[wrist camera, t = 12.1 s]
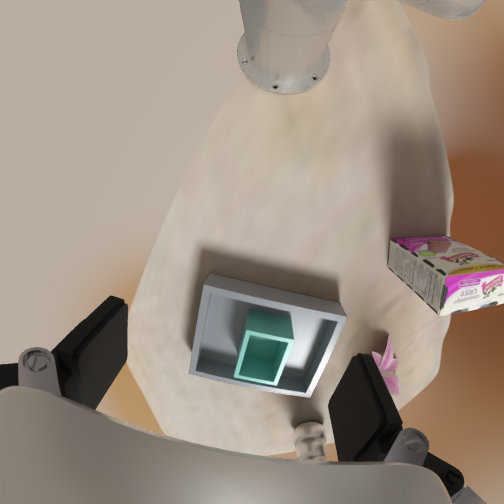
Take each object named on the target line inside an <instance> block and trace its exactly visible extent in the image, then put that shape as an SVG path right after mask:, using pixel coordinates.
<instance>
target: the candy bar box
mask: <svg viewBox="0 0 504 504" xmlns="http://www.w3.org/2000/svg"><path fill="white" fill-rule="evenodd" d="M388 268H389V269H390V270H391V271H392V272H393V273H394V274H395V275H396V276H398V277H399V278H400V279H401V280H402V281H403V282H404V283H405V284H406V285H407V286H409V287H410V288H411V289H412V290H413V291H414V292H415V293H416V294H417V295H418V296H419V297H420V298H421V299H422V300H423V301H425V303H426V304H427V305H429V306H430V307H431V308H432V309H433V310H434V311H435V312H436V313H437V314H438V316H444V315H449V314H454V313H460V312H465V311H470V310H475V309H480V308H484V307H489V306H494V305H498V304H502V303H504V263H502V262H500V261H498V260H496V259H494V258H492V257H490V256H488V255H486V254H484V253H482V252H480V251H478V250H475V249H473V248H471V247H469V246H467V245H465V244H463V243H461V242H458V241H456V240H454V239H452V238H450V237H448V236H434V237H415V238H393V239H390V244H389V260H388Z"/></svg>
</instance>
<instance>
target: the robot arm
mask: <svg viewBox="0 0 504 504" xmlns="http://www.w3.org/2000/svg"><path fill="white" fill-rule="evenodd" d="M397 1H400V2H403V3H405V4H407V5H409V6H412V7H414V8H417V9H419V10H421V11H424V12H426V13H429V14H431V15H434V16H437V17H440V18H444V19H449V20H459V19H463V18H466V17H469V16H470V15H472V14H474V13H475V12H476V11H477V10H478V9H479V8H480V7H481V6H482V5H483V4H484V2H485V1H486V0H397ZM239 2H240V8H241V13H242V19H243V24H244V29H245V33H244V34H243V36H242V37H241V39H240V42H239V44H238V50H237V53H238V61H239V64H240V67H241V69H242V71H243V73H244V74H245V75H246V77H247V78H248V79H249V80H250V81H251V82H252V83H254V84H255V85H257V86H258V87H260V88H262V89H264V90H266V91H269V92H273V93H278V94H295V93H300V92H304V91H306V90H308V89H311V88H312V87H314V86H315V85H317V84H318V83H319V82H320V81H321V80H322V79H323V77H324V76H325V74H326V72H327V70H328V68H329V64H330V51H329V47H328V45H327V44H328V42H329V41H330V39H331V37H332V35H333V33H334V31H335V29H336V27H337V25H338V23H339V21H340V19H341V17H342V15H343V13H344V10H345V8H346V5H347V0H239ZM244 62H246V63H247V64H243V63H244ZM313 78H315V79H316V80H313ZM274 86H276V87H277V89H274V88H273V87H274ZM127 327H128V305H127V304H125V302H124V300H123V299H120V298H118V297H114V296H109V297H108V298H107V299H106V300H105V301H104V302H103V303H102V304H101V305H100V306H99V307H97V308H96V309H95V310H94V311H93V312H92V313H91V314H90V315H89V316H88V317H87V318H86V319H84V320H83V321H82V322H80V323H79V324H78V325H77V326H76V327H75V328H74V329H73V330H72V331H71V332H70V333H69V334H68V335H67V336H66V337H65V338H64V339H63V340H62V341H61V342H60V343H59V344H58V345H57V346H56V347H55V348H54V349H53V350H52V351H51V352H50V351H48V350H47V349H44V348H40V347H34V348H29V349H27V350H25V351H24V352H22V354H21V355H20V357H19V361H18V363H13V364H1V365H0V504H487V503H486V502H484V500H483V499H481V498H480V497H479V496H478V495H477V494H476V493H475V492H474V491H473V490H472V489H471V488H470V487H468V486H466V487H464V477H463V475H462V473H461V472H460V471H459V470H458V469H456V468H455V467H454V466H452V465H450V464H448V463H446V462H445V461H443V460H441V459H439V458H438V457H436V456H434V455H433V454H431V453H429V452H428V450H429V441H428V439H427V437H426V436H425V435H424V434H423V433H422V432H420V431H419V430H417V429H414V428H406V429H403V428H402V423H403V422H402V420H401V418H400V415H399V413H398V411H397V408H396V406H395V404H394V402H393V399H392V397H391V395H390V393H389V390H388V388H387V386H386V384H385V382H384V379H383V377H382V375H381V373H380V371H379V369H378V367H377V364H376V362H375V360H374V358H373V356H372V355H369V354H361V353H359V354H357V356H353V357H352V359H351V361H350V363H349V365H348V367H347V369H346V371H345V373H344V375H343V377H342V378H341V380H340V382H339V384H338V386H337V388H336V390H335V391H334V393H333V395H332V397H331V398H330V400H329V404H328V409H329V414H330V419H331V424H332V429H333V434H334V439H335V445H336V450H337V456H338V461H339V462H331V461H307V460H293V459H283V458H274V457H266V456H258V455H251V454H245V453H239V452H233V451H228V450H223V449H218V448H213V447H209V446H204V445H200V444H196V443H192V442H188V441H184V440H180V439H177V438H173V437H169V436H166V435H162V434H159V433H156V432H153V431H150V430H147V429H144V428H141V427H138V426H135V425H132V424H130V423H127V422H124V421H121V420H119V419H116V418H113V417H111V416H108V415H106V414H103V413H101V412H98V411H96V410H95V409H96V408H97V406H98V404H99V403H100V401H101V400H102V398H103V397H104V395H105V393H106V392H107V390H108V389H109V387H110V386H111V384H112V383H113V381H114V379H115V378H116V376H117V374H118V373H119V372H120V370H121V369H122V367H123V366H124V364H125V362H126V360H127V355H128V351H127Z"/></svg>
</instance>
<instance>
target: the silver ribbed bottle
mask: <svg viewBox="0 0 504 504" xmlns="http://www.w3.org/2000/svg"><path fill="white" fill-rule="evenodd" d="M293 440H294V444H295V447H296V452H297V457H298V460H307V461H327V458H326V431H325V428H324V427H323V426H322V425H321V424H320V423H317V422H305V423H302V424H300V425H299V426H298V427H297V428H296V429H295V430H294V434H293Z"/></svg>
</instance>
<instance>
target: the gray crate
mask: <svg viewBox="0 0 504 504" xmlns="http://www.w3.org/2000/svg"><path fill="white" fill-rule="evenodd" d="M249 309H252V310H257V311H261V312H266V313H270V314H275V315H279V316H284V317H289V318H291V320H292V327H293V334H294V342H293V345H292V347H291V350H290V353H289V355H288V358H287V361H286V363H285V366H284V368H283V371H282V374H281V376H280V379H279V381H278V384H277V386H276V385H271V384H265V383H260V382H255V381H249V380H245V379H240V378H235V377H234V371H235V365H236V359H237V353H238V349H239V346H240V342H241V338H242V335H243V331H244V327H245V323H246V319H247V316H248V312H249ZM346 318H347V316H346V314H345V312H344V310H343V308H342V306H341V304H340V303H339V302H335V301H330V300H325V299H321V298H316V297H312V296H307V295H303V294H298V293H294V292H289V291H285V290H280V289H276V288H272V287H267V286H263V285H259V284H255V283H250V282H246V281H242V280H238V279H234V278H230V277H225V276H221V275H217V274H213V273H210V274H209V275H208V277H207V279H206V281H205V283H204V285H203V291H202V296H201V302H200V308H199V313H198V319H197V325H196V331H195V337H194V343H193V349H192V355H191V362H190V368H189V374H192V375H196V376H200V377H204V378H208V379H212V380H216V381H220V382H224V383H229V384H233V385H238V386H243V387H248V388H253V389H258V390H263V391H269V392H275V393H281V394H287V395H294V396H301V397H308V398H310V396H311V394H312V392H313V390H314V388H315V386H316V384H317V382H318V380H319V378H320V376H321V374H322V372H323V370H324V368H325V366H326V364H327V361H328V359H329V357H330V355H331V353H332V351H333V348H334V346H335V344H336V342H337V339H338V337H339V335H340V332H341V330H342V328H343V325H344V323H345V320H346Z"/></svg>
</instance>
